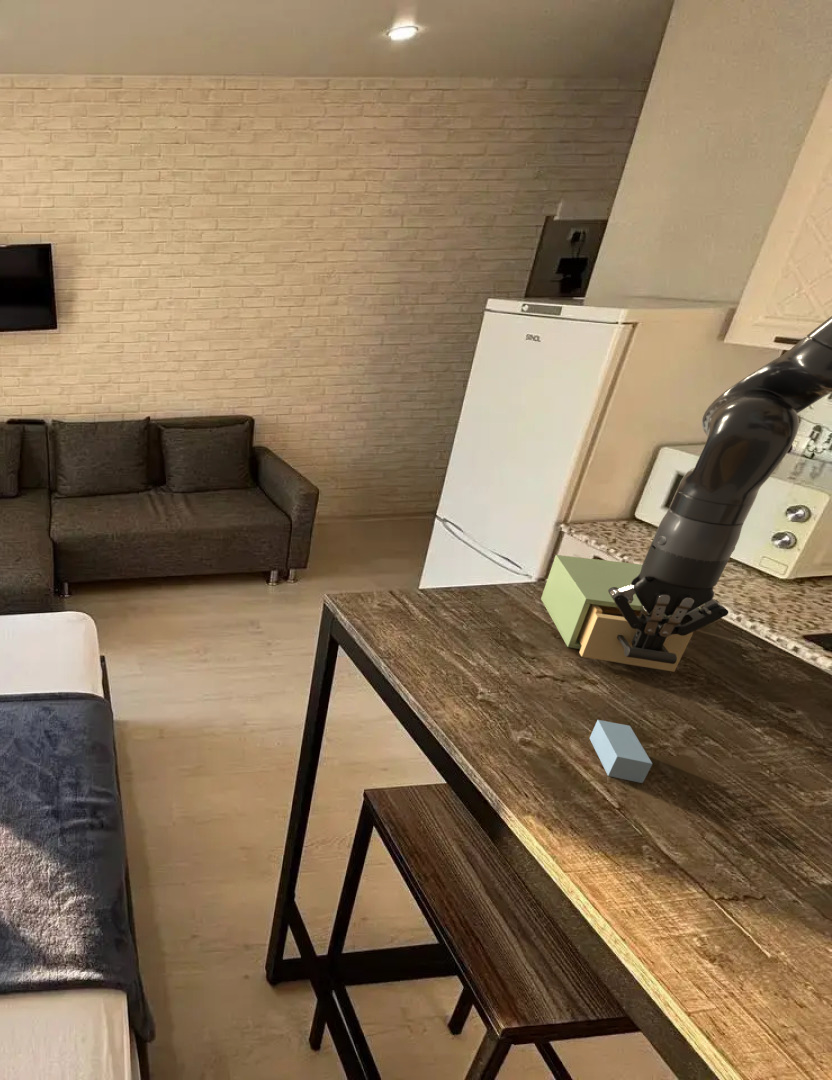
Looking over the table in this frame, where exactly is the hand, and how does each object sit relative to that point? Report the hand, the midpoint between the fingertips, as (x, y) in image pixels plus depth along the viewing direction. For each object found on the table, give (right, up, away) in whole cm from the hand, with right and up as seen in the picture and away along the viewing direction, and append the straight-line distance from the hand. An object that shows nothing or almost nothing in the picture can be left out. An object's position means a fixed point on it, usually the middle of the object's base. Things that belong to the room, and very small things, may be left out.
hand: (642, 652), depth 83 cm
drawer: (+3, 0, +7) cm, 8 cm away
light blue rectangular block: (-14, -11, -12) cm, 21 cm away
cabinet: (+5, +2, +13) cm, 14 cm away
